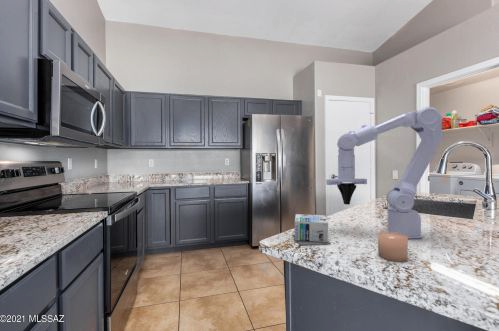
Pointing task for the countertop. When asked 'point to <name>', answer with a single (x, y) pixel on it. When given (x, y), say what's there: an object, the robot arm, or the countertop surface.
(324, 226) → the light bulb box
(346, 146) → the robot arm
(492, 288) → the countertop surface
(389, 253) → the tan rounded cylinder
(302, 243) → the flat gray square
